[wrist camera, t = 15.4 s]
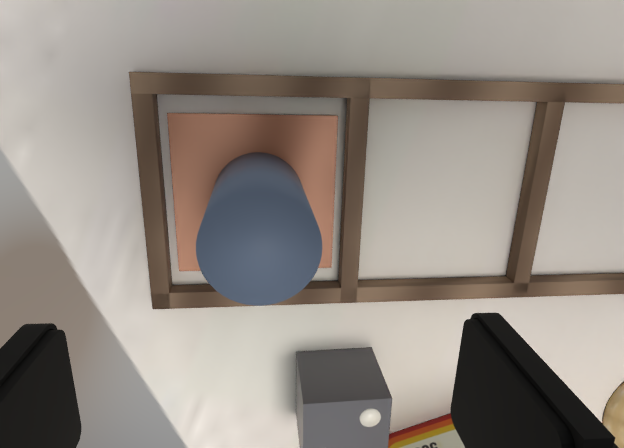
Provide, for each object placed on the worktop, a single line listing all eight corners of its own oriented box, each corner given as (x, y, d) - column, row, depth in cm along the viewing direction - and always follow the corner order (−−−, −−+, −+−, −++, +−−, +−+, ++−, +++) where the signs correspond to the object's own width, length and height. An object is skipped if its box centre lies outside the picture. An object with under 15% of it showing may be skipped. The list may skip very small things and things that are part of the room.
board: (730, 86, 27) (747, 87, 26) (668, 284, 31) (681, 291, 30) (134, 72, 23) (128, 72, 22) (156, 300, 27) (152, 309, 26)
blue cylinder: (304, 152, 25) (325, 189, 17) (301, 237, 27) (319, 304, 19) (212, 151, 24) (192, 188, 17) (215, 238, 26) (198, 307, 18)
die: (371, 346, 30) (392, 399, 25) (367, 407, 32) (386, 468, 27) (296, 350, 29) (303, 405, 25) (296, 413, 31) (302, 475, 26)
